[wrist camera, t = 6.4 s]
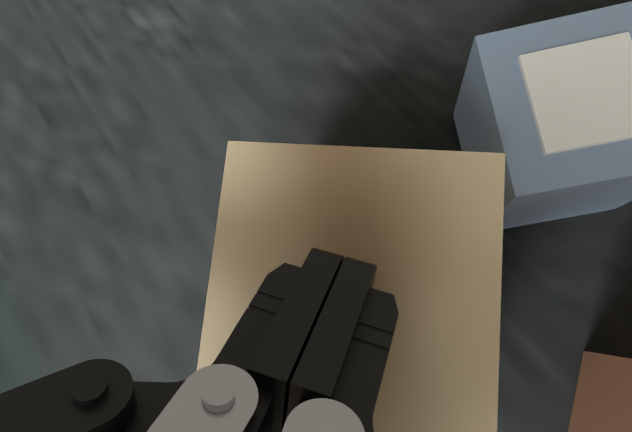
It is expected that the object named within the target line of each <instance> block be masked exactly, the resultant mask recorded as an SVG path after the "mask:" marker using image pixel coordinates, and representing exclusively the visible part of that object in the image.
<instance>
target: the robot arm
mask: <svg viewBox="0 0 632 432" xmlns="http://www.w3.org/2000/svg"><path fill="white" fill-rule="evenodd" d="M376 270H377V265H374V264H371V263H367V262H364V261H360V260H357V259H353V258H350V257H345V259H344V256H342V255H339V254H335V253H332V252H328V251H325V250H321V249H318V248H314V247H313V248H312V249H311V250H310V252H309V254H308V256H307V258H306V260H305V261H304V263H303V265H302V267H298V266H295V265H291V264H288V263H283V264H282V265H280V266H279V267H277V268H276V269H275V270H273V271H272V272H270V273H269V274H267V276H266V277H265V279H264V281H263V282H262V284H261V286H260V287H259V289H258V290H257V294H255V295H254V297H253V299H252V300H251V302H250V304H249V307H248V308H246V310H245V312H244V313H243V315H242V317H241V318H240V320H239V322H238V323H237V325H236V327H235V328H234V330H233V331H232V333H231V335H230V336H229V338H228V340H227V341H226V343H225V345H224V346H223V348H222V349H221V351H220V353H219V354H218V356H217V358H216V359H215V360H214V362H213V363H212V364H211V365H209V366H206V367H203V368H201V369H199V370H197V371H196V372H194V373H193V374H192V375H190V376H189V377H188V378H187V379H186V380H183V381H179V382H168V383H164V382H133V380H132V376H131V374H130V372H129V371H128V370H127V369H126V367H125V366H123V365H122V364H120V363H118V362H116V361H112V360H108V359H94V360H89V361H85V362H82V363H79V364H76V365H74V366H71V367H68V368H66V369H63V370H61V371H58V372H55V373H53V374H50V375H48V376H45V377H42V378H40V379H37V380H35V381H32V382H30V383H27V384H24V385H22V386H19V387H17V388H14V389H11V390H9V391H6V392H4V393H1V394H0V432H374V429H373V413H374V409H375V405H376V401H377V397H378V393H379V389H380V385H381V382H382V378H383V374H384V370H385V366H386V362H387V358H388V354H389V350H390V347H391V343H392V339H393V335H394V331H395V327H396V323H397V319H398V316H399V312H398V308H397V305H396V301H395V297H394V294H390V293H387V292H384V291H380V290H377V289H373V283H374V279H375V275H376Z"/></svg>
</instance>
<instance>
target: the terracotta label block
mask: <svg viewBox="0 0 632 432" xmlns="http://www.w3.org/2000/svg"><path fill="white" fill-rule="evenodd" d="M568 432H632V359H631V358H625V357H619V356H612V355H606V354H600V353H594V352H587V351H584V352H583V357H582V362H581V367H580V372H579V378H578V383H577V388H576V393H575V399H574V404H573V409H572V414H571V419H570V425H569V430H568Z"/></svg>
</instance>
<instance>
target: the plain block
mask: <svg viewBox="0 0 632 432" xmlns="http://www.w3.org/2000/svg"><path fill="white" fill-rule="evenodd" d="M504 182H505V153H491V152H468V151H445V150H422V149H400V148H377V147H354V146H331V145H308V144H286V143H263V142H240V141H228V146H227V153H226V161H225V168H224V175H223V182H222V190H221V197H220V204H219V212H218V219H217V226H216V234H215V241H214V248H213V256H212V263H211V270H210V277H209V285H208V292H207V299H206V307H205V314H204V321H203V329H202V336H201V343H200V350H199V358H198V365H197V370H199V369H201V368H203V367H206V366H209V365H211V364H212V363H213V362H214V360H215V359H216V358H217V356H218V354H219V353H220V351H221V349H222V348H223V346H224V345H225V343H226V341H227V340H228V338H229V336H230V335H231V333H232V331H233V330H234V328H235V327H236V325H237V323H238V322H239V320H240V318H241V317H242V315H243V313H244V312H245V310H246V308H248V307H249V304H250V302H251V300H252V299H253V297H254V295H255V294H257V290H258V289H259V287H260V286H261V284H262V282H263V281H264V279H265V277H266V276H267V274H269V273H270V272H272V271H273V270H275V269H276V268H277V267H279V266H280V265H282V264H283V263H288V264H291V265H295V266H298V267H302V265H303V263H304V261H305V260H306V258H307V256H308V254H309V252H310V250H311V249H312V248H313V247H314V248H318V249H321V250H325V251H328V252H332V253H335V254H339V255H342V256H344V259H345V257H350V258H353V259H357V260H360V261H364V262H367V263H371V264H374V265H377V270H376V275H375V279H374V283H373V289H377V290H380V291H384V292H387V293H390V294H394V297H395V301H396V305H397V308H398V312H399V316H398V319H397V323H396V327H395V331H394V335H393V339H392V343H391V347H390V350H389V354H388V358H387V362H386V366H385V370H384V374H383V378H382V382H381V385H380V389H379V393H378V397H377V401H376V405H375V409H374V413H373V429H374V432H497V414H498V381H499V348H500V315H501V282H502V249H503V215H504Z"/></svg>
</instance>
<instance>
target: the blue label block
mask: <svg viewBox="0 0 632 432" xmlns="http://www.w3.org/2000/svg"><path fill="white" fill-rule="evenodd" d="M453 117H454V121H455V125H456V129H457V134H458V138H459V142H460V146H461V151H468V152H491V153H505V182H504V215H503V229H506V228H512V227H517V226H523V225H529V224H534V223H540V222H545V221H551V220H557V219H562V218H568V217H574V216H579V215H585V214H591V213H596V212H602V211H607V210H613V209H616V208H618V207H620V206H622V205H624V204H626V203H628V202H630V201H632V1H631V2H626V3H622V4H617V5H613V6H608V7H604V8H599V9H595V10H590V11H586V12H581V13H577V14H572V15H568V16H563V17H559V18H554V19H550V20H545V21H541V22H536V23H532V24H527V25H523V26H518V27H514V28H509V29H505V30H500V31H496V32H491V33H487V34H482V35H478V36H475V38H474V41H473V45H472V48H471V52H470V56H469V59H468V63H467V67H466V70H465V74H464V77H463V81H462V85H461V88H460V92H459V95H458V99H457V103H456V106H455V110H454V113H453Z"/></svg>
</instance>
